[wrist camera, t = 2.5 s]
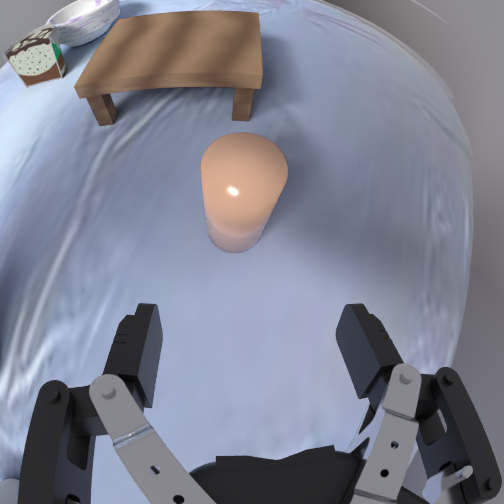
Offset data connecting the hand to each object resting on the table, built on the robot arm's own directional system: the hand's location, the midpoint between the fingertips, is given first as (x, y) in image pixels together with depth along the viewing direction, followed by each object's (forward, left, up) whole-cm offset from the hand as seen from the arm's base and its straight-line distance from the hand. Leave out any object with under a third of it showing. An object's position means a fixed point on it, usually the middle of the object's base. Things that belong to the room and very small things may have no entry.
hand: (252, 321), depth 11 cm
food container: (-34, +39, -14) cm, 54 cm away
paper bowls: (-31, +51, -14) cm, 61 cm away
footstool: (-8, +30, -14) cm, 34 cm away
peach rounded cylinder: (0, +9, -14) cm, 17 cm away
